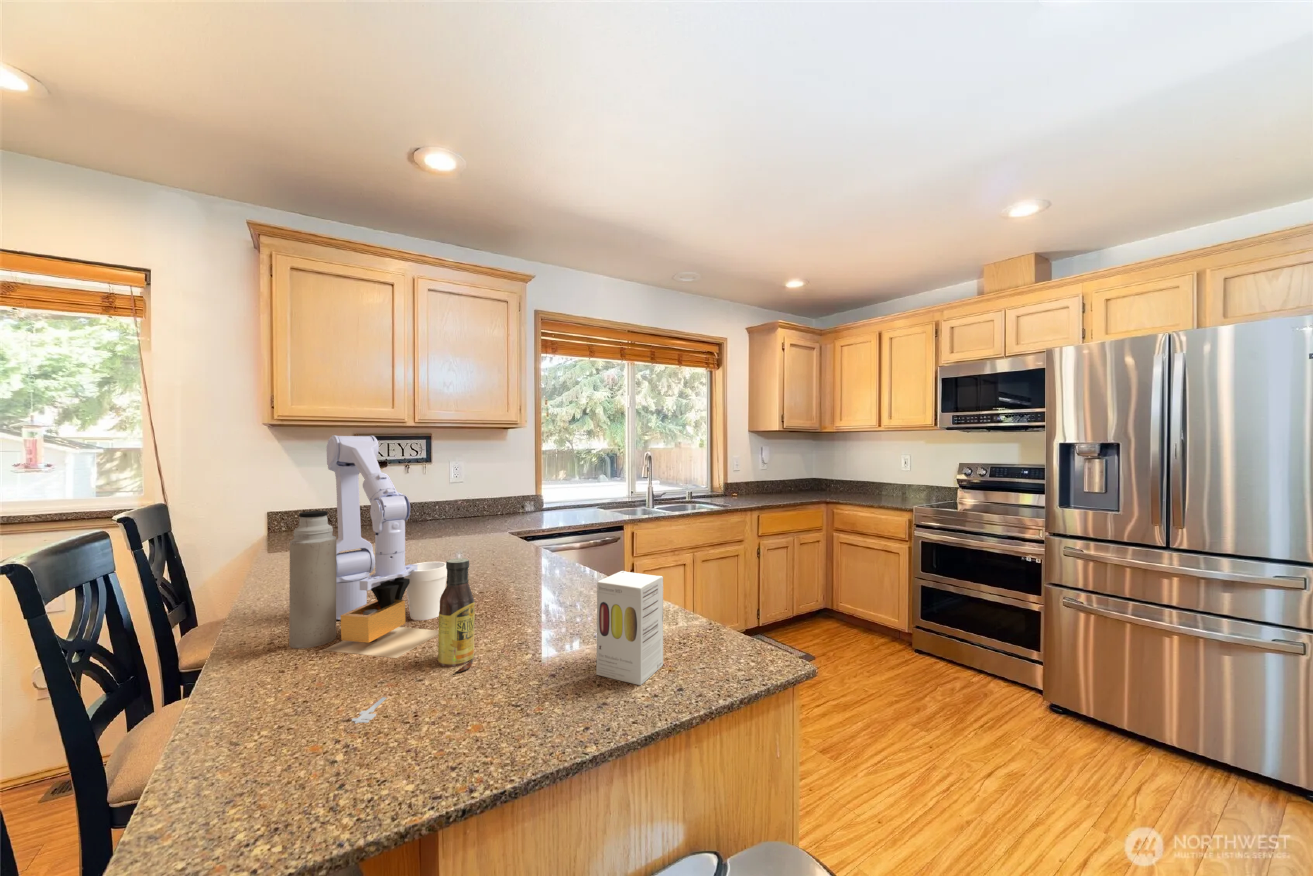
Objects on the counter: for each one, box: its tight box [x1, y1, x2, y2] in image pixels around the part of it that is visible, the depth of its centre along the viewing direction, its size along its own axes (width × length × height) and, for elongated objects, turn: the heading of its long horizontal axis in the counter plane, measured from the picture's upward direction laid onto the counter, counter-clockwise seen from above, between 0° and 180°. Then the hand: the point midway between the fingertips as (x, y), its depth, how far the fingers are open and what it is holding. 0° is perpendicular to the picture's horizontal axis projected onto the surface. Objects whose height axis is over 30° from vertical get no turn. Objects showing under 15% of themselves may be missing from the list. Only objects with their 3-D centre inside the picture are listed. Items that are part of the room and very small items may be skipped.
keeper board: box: [323, 609, 439, 659], centre depth 103 cm, size 17×14×8 cm
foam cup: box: [404, 561, 447, 621], centre depth 118 cm, size 10×9×13 cm
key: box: [351, 697, 388, 724], centre depth 81 cm, size 12×1×3 cm
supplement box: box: [595, 570, 664, 686], centre depth 92 cm, size 10×9×17 cm
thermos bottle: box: [288, 510, 337, 649], centre depth 103 cm, size 8×8×28 cm
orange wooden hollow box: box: [340, 599, 406, 643], centre depth 104 cm, size 10×6×5 cm, turn 167°
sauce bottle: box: [437, 557, 476, 673], centre depth 94 cm, size 6×6×20 cm
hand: (390, 615), depth 108 cm, fingers closed on orange wooden hollow box
